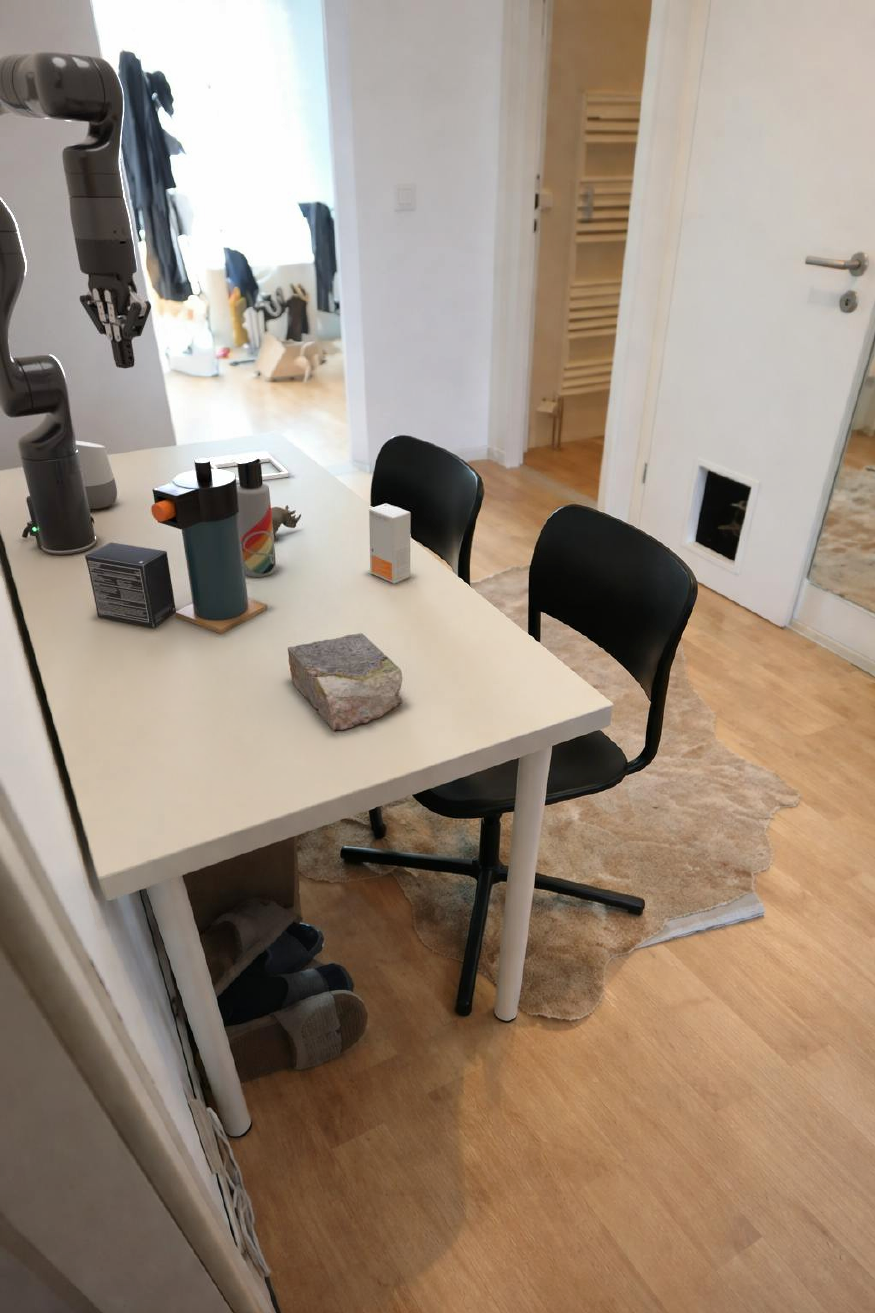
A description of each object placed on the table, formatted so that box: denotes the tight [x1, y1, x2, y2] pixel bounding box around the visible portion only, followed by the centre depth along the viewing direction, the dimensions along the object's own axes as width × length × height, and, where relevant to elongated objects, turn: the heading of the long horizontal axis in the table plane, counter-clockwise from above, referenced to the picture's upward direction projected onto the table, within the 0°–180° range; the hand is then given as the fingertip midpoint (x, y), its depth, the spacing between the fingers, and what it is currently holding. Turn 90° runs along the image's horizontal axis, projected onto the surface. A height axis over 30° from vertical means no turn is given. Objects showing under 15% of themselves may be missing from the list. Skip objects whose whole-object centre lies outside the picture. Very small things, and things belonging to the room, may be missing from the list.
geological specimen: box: [287, 632, 403, 731], centre depth 109 cm, size 11×6×15 cm
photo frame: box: [206, 451, 290, 484], centre depth 191 cm, size 15×1×18 cm
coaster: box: [174, 597, 268, 635], centre depth 130 cm, size 10×10×1 cm
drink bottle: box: [152, 457, 249, 620], centre depth 122 cm, size 12×9×24 cm
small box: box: [84, 542, 177, 629], centre depth 126 cm, size 11×6×10 cm, turn 71°
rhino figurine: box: [271, 504, 302, 542], centre depth 155 cm, size 4×14×6 cm, turn 131°
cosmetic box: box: [368, 502, 412, 585], centre depth 140 cm, size 6×4×12 cm
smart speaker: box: [76, 440, 118, 512], centre depth 166 cm, size 10×9×14 cm
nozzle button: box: [150, 499, 176, 522], centre depth 115 cm, size 3×3×3 cm
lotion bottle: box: [237, 457, 277, 578], centre depth 139 cm, size 6×6×20 cm
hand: (125, 366), depth 121 cm, fingers closed
